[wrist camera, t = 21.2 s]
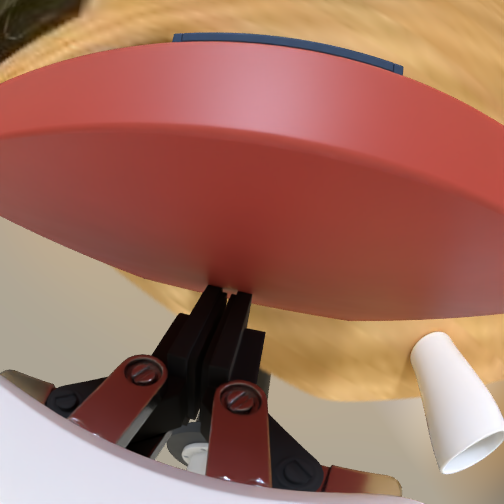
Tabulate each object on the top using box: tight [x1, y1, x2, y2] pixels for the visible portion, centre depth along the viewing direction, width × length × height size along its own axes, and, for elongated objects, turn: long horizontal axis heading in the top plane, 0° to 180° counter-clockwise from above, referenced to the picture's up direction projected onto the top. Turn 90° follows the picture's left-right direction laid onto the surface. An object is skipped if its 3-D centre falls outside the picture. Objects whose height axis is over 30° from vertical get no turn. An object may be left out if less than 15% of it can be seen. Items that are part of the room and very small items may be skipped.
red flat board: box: [0, 41, 504, 321], centre depth 9 cm, size 16×13×1 cm
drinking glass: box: [410, 332, 504, 474], centre depth 19 cm, size 7×7×15 cm
